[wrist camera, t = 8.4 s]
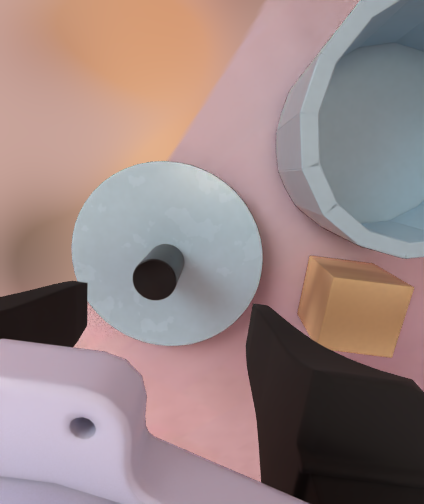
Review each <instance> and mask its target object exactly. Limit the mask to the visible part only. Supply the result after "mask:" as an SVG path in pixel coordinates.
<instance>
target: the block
mask: <svg viewBox="0 0 424 504" xmlns="http://www.w3.org/2000/svg"><path fill="white" fill-rule="evenodd" d="M413 290H414V287H413V286H411V285H409V284H408V283H406V282H404V281H403V280H401V279H399V278H397V277H396V276H394V275H392V274H390V273H389V272H387V271H385V270H384V269H382V268H380V267H378V266H377V265H375V264H373V263H365V262H357V261H349V260H341V259H333V258H325V257H317V256H310V257H309V262H308V266H307V271H306V275H305V280H304V285H303V289H302V294H301V299H300V303H299V308H298V313H297V314H298V316H299V318H300V319H301V321H302V323H303V325H304V327H305V328H306V330H307V332H308V334H309V336H310V338H311V339H312V340H314V341H315V342H317V343H319V344H321V345H322V346H324V347H326V348H328V349H330V350H333V351H341V352H349V353H357V354H365V355H373V356H381V357H389V358H392V356H393V353H394V349H395V346H396V343H397V340H398V337H399V334H400V331H401V328H402V325H403V321H404V318H405V315H406V312H407V309H408V306H409V303H410V300H411V296H412V293H413Z"/></svg>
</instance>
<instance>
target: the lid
mask: <svg viewBox="0 0 424 504" xmlns="http://www.w3.org/2000/svg"><path fill="white" fill-rule="evenodd" d="M72 261H73V267H74V272H75V275H76V278H77V281H78V282H85V283H88V288H87V301H88V302H89V304H90V305H91V306H92V308H93V309H94V310H95V311H96V312H97V313H98V314H99V315H100V316H101V317H102V318H103V319H104V320H105V321H106V322H107V323H108V324H110V325H111V326H112V327H114V328H115V329H117V330H118V331H120V332H122V333H123V334H125V335H127V336H130V337H132V338H134V339H137V340H140V341H143V342H146V343H150V344H155V345H164V346H181V345H188V344H193V343H197V342H201V341H204V340H206V339H209V338H211V337H213V336H215V335H217V334H219V333H220V332H222V331H224V330H225V329H226V328H228V327H229V326H230V325H232V324H233V323H234V322H235V321H236V320H237V319H238V318H239V317H240V316H241V315H242V314H243V312H244V311H245V310H246V309H247V307H248V306H249V304H250V302H251V301H252V299H253V297H254V295H255V292H256V290H257V288H258V285H259V281H260V277H261V272H262V264H263V251H262V244H261V238H260V234H259V231H258V227H257V225H256V223H255V220H254V218H253V216H252V214H251V212H250V211H249V209H248V207H247V206H246V204H245V203H244V202H243V200H242V199H241V198H240V197H239V195H238V194H237V193H236V192H235V191H234V190H233V189H232V188H231V187H230V186H228V185H227V184H226V183H225V182H223V181H222V180H221V179H219V178H218V177H216V176H215V175H213V174H211V173H209V172H207V171H205V170H203V169H200V168H197V167H195V166H192V165H188V164H184V163H179V162H170V161H155V162H147V163H142V164H137V165H134V166H131V167H128V168H126V169H123V170H121V171H120V172H118V173H116V174H114V175H112V176H111V177H109V178H108V179H107V180H105V181H104V182H102V184H100V185H99V186H98V187H97V188H96V189H95V190H94V191H93V193H92V194H91V195H90V196H89V198H88V199H87V201H86V202H85V204H84V205H83V207H82V209H81V211H80V213H79V215H78V218H77V220H76V223H75V227H74V232H73V237H72Z"/></svg>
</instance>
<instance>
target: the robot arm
mask: <svg viewBox="0 0 424 504" xmlns="http://www.w3.org/2000/svg"><path fill="white" fill-rule="evenodd" d="M87 288H88V283H85V282H77V281H68V282H62V283H58V284H53V285H49V286H45V287H41V288H38V289H34V290H30V291H25V292H21V293H17V294H12V295H8V296H3V297H0V504H424V392H423V391H422V390H421V389H420V387H419V386H418V385H417V384H416V383H415V382H414V381H413V380H412V379H408V378H405V377H401V376H398V375H394V374H391V373H387V372H384V371H380V370H377V369H374V368H372V367H369V366H366V365H363V364H361V363H358V362H356V361H353V360H351V359H348V358H346V357H344V356H342V355H340V354H338V353H336V352H333V351H332V350H330V349H328V348H326V347H324V346H322V345H321V344H319V343H317V342H315V341H314V340H312V339H311V338H309V337H307V336H306V335H305V334H303V333H302V332H300V331H299V330H298V329H296V328H295V327H294V326H292V325H291V324H290V323H289V322H287V321H286V320H285V319H284V318H282V317H281V316H280V315H279V314H278V313H277V312H275V311H274V310H273V309H272V308H270V307H269V306H267V305H260V304H253V307H252V312H251V318H250V324H249V330H248V336H247V342H246V360H247V369H248V375H249V380H250V386H251V391H252V396H253V401H254V407H255V412H256V419H257V429H258V441H259V455H260V470H261V482H258V481H256V480H254V479H251V478H249V477H247V476H245V475H242V474H240V473H238V472H235V471H233V470H231V469H228V468H226V467H224V466H221V465H219V464H217V463H215V462H212V461H210V460H208V459H205V458H203V457H201V456H198V455H196V454H194V453H191V452H189V451H187V450H185V449H182V448H180V447H178V446H175V445H173V444H171V443H168V442H166V441H164V440H162V439H159V438H157V437H155V436H153V435H152V434H151V433H150V432H149V431H148V429H147V427H146V420H145V413H146V400H147V395H146V390H145V386H144V382H143V378H142V375H141V374H140V373H139V372H138V371H137V370H136V369H135V368H134V367H133V366H132V365H131V364H130V363H129V362H128V361H127V360H126V359H123V358H121V357H118V356H115V355H112V354H110V353H107V352H104V351H97V350H89V349H81V348H73V347H74V345H75V344H76V343H77V341H78V340H79V338H80V336H81V335H82V333H83V331H84V330H85V328H86V326H87Z"/></svg>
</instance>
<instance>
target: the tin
mask: <svg viewBox="0 0 424 504" xmlns="http://www.w3.org/2000/svg"><path fill="white" fill-rule="evenodd" d="M276 157H277V165H278V171H279V174H280V177H281V179H282V182H283V184H284V187H285V189H286V190H287V192H288V194H289V196H290V197H291V199H292V201H293V203H294V204H295V205H296V206H297V207H298V208H299V209H301V210H302V211H303V212H304V213H305V214H306V215H307V216H308V217H310V218H311V219H312V220H314V221H315V222H316V223H317V224H318V225H320V226H321V227H323V228H325V229H327V230H329V231H331V232H333V233H335V234H337V235H339V236H341V237H343V238H345V239H347V240H349V241H351V242H352V243H354V244H356V245H359V246H361V247H364V248H368V249H371V250H375V251H378V252H382V253H385V254H388V255H392V256H395V257H399V258H402V259H403V258H405V259H410V258H420V257H424V0H361V1H359V3H358V4H357V5H356V6H355V8H354V9H353V10H352V11H351V13H350V14H349V15H348V16H347V18H346V19H345V20H344V21H343V23H342V24H341V25H340V26H339V28H338V29H337V30H336V32H335V33H334V34H333V35H332V37H331V38H330V39H329V40H328V42H327V43H326V44H325V45H324V47H323V48H322V49H321V50H320V52H319V53H318V54H317V55H316V57H315V58H314V59H313V61H312V62H311V63H310V64H309V66H308V67H307V68H306V70H305V71H304V72H303V74H302V75H301V76H300V77H299V79H298V80H297V81H296V83H295V84H294V85H293V86H292V88H291V89H290V91H289V93H288V96H287V99H286V102H285V104H284V107H283V109H282V112H281V115H280V119H279V123H278V127H277V132H276Z"/></svg>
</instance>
